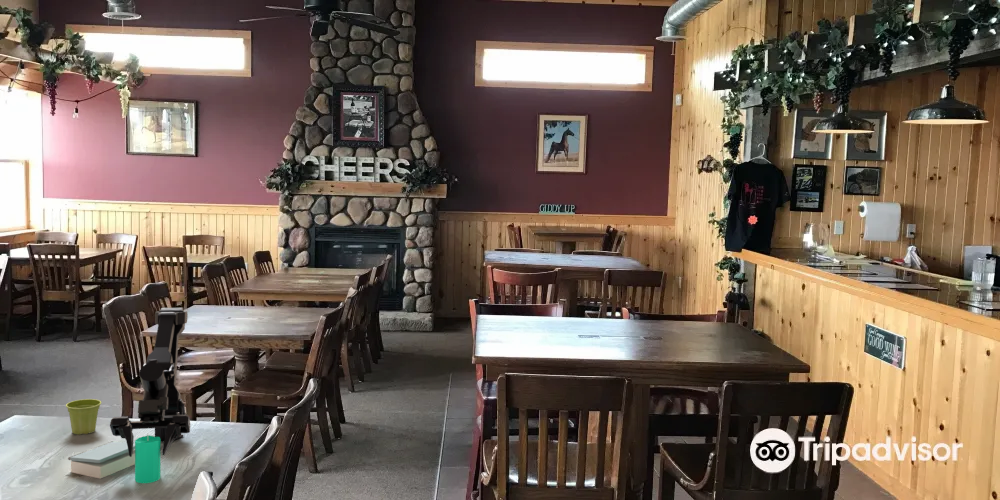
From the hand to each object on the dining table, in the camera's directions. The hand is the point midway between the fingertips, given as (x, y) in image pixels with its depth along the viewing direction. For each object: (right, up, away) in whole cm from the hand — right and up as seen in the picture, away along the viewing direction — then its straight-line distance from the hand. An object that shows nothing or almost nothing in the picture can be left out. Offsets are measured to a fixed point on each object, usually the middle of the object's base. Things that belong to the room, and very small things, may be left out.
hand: (146, 455), depth 196 cm
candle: (-1, -7, +2) cm, 7 cm away
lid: (-15, -2, +9) cm, 17 cm away
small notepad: (-15, -5, +9) cm, 18 cm away
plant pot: (-35, -2, +35) cm, 50 cm away
